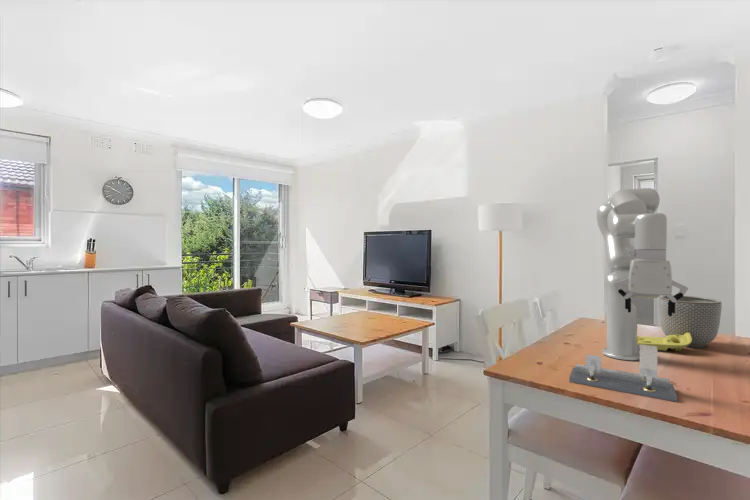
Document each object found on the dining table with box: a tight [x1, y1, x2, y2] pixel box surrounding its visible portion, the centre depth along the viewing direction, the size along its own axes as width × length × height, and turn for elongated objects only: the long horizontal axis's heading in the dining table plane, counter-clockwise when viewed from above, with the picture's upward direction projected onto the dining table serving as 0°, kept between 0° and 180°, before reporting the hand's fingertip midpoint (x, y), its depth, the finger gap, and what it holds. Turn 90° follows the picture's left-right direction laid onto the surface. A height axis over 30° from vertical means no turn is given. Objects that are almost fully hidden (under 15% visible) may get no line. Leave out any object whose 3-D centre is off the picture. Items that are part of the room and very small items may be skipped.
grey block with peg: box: [639, 344, 658, 388], centre depth 108 cm, size 4×8×10 cm, turn 146°
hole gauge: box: [568, 353, 678, 403], centre depth 112 cm, size 26×10×7 cm, turn 56°
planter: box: [658, 294, 723, 349], centre depth 153 cm, size 20×20×19 cm
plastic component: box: [637, 333, 692, 352], centre depth 149 cm, size 20×7×10 cm
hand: (649, 313), depth 109 cm, fingers open, 9 cm apart
